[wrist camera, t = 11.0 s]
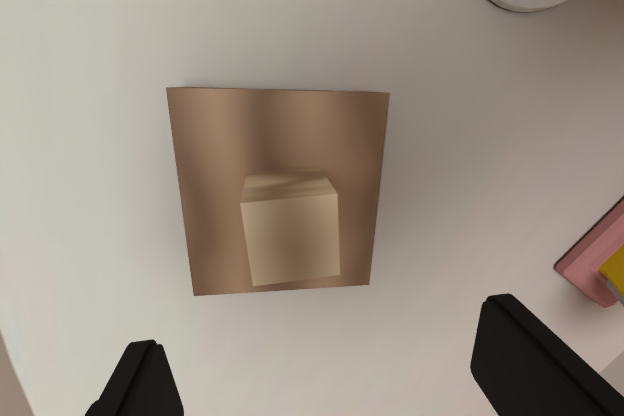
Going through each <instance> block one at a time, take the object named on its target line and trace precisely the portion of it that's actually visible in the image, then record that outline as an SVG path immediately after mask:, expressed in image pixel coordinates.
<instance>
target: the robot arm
mask: <svg viewBox="0 0 624 416" xmlns="http://www.w3.org/2000/svg"><path fill="white" fill-rule="evenodd" d="M491 1H492V2H494V3H495V4H497V5H498V6H500V7H502V8H505V9H508V10H511V11H515V12H533V11H539V10H544V9H547V8H551V7H554V6H557V5H560V4H562V3H564V2H566V1H568V0H491ZM470 368H471V372H472V375H473V377H474V379H475V380H476V382H477V383H478V385H479V386H480V388H481V389H482V391H483V393H484V394H485V396H486V397H487V399H488V400H489V402H490V403H491V405H492V406H493V408H494V409H495V411H496V412H497V414H498V415H499V416H624V397H623V396H622V395H621V394H620V393H619V392H617V391H616V390H615V389H614V388H613V387H612V386H611V385H610V384H609V383H608V382H606V380H604V379H603V378H602V377H601V376H600V375H599V374H598V373H597V372H596V371H595V370H594V369H592V368H591V367H590V366H589V365H588V364H587V363H586V362H585V361H584V360H583V359H582V358H581V357H579V356H578V355H577V354H576V353H575V352H574V351H573V350H572V349H571V348H570V347H569V346H567V345H566V344H565V343H564V342H563V341H562V340H561V339H560V338H559V337H558V336H557V335H556V334H554V333H553V332H552V331H551V330H550V329H549V328H548V327H547V326H546V325H545V324H544V323H542V322H541V321H540V320H539V319H538V318H537V317H536V316H535V315H534V314H533V313H532V312H531V311H529V310H528V309H527V308H526V307H525V306H524V305H523V304H522V303H521V302H520V301H519V300H517V299H516V298H515V297H514V296H513V295H511V294H500V295H492V296H488V297H487V299H486V301H485V302H483V304H482V307H481V312H480V318H479V323H478V328H477V333H476V338H475V344H474V349H473V354H472V359H471V365H470ZM85 416H184V409H183V405H182V402H181V399H180V396H179V393H178V390H177V387H176V384H175V381H174V378H173V375H172V372H171V369H170V366H169V363H168V360H167V357H166V354H165V351H164V348H163V346H162V345H161V344H157V343H156V341H155V340H145V341H138V342H131V343H130V344H129V345H128V346H127V348H126V349H125V351H124V353H123V355H122V357H121V359H120V361H119V363H118V364H117V366H116V368H115V370H114V372H113V374H112V376H111V378H110V379H109V381H108V383H107V385H106V387H105V389H104V391H103V392H102V394H101V396H100V398H99V400H97V401H95V402H94V403H93V404H92V405H91V406H90V408H89V409H88V411H87V412H86V414H85Z"/></svg>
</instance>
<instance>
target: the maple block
mask: <svg viewBox="0 0 624 416" xmlns="http://www.w3.org/2000/svg"><path fill="white" fill-rule="evenodd" d="M240 205H241V212H242V218H243V225H244V232H245V238H246V245H247V251H248V258H249V264H250V271H251V277H252V284H253V286H260V285H267V284H275V283H283V282H290V281H298V280H305V279H313V278H321V277H328V276H336V275H340V259H339V225H338V193H337V192H336V190H335V189H334V187H333V186H332V184H331V183H330V182H329V180H328V179H327V177H326V176H325V174H324V173H323V171H322V170H321V168H320V167H319V166H315V167H304V168H293V169H282V170H272V171H261V172H250V173H246V178H245V182H244V187H243V192H242V197H241V202H240Z"/></svg>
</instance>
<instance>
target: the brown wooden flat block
mask: <svg viewBox="0 0 624 416" xmlns="http://www.w3.org/2000/svg"><path fill="white" fill-rule="evenodd" d="M166 91H167V99H168V106H169V114H170V121H171V129H172V136H173V144H174V151H175V159H176V166H177V174H178V181H179V188H180V196H181V203H182V211H183V218H184V226H185V233H186V241H187V248H188V256H189V263H190V271H191V278H192V286H193V293H194V296H202V295H217V294H233V293H248V292H264V291H280V290H295V289H311V288H326V287H342V286H357V285H369V281H370V272H371V262H372V253H373V244H374V235H375V225H376V216H377V207H378V197H379V188H380V179H381V169H382V160H383V151H384V141H385V132H386V123H387V113H388V104H389V95H390V93H382V92H365V91H325V90H284V89H243V88H202V87H171V88H166ZM315 166H319V167H320V168H321V170H322V171H323V173H324V174H325V176H326V177H327V179H328V180H329V182H330V183H331V184H332V186H333V187H334V189H335V190H336V192H337V193H338V225H339V259H340V275H336V276H328V277H321V278H313V279H305V280H298V281H290V282H283V283H275V284H267V285H260V286H253V284H252V277H251V271H250V264H249V258H248V251H247V245H246V238H245V232H244V225H243V218H242V212H241V205H240V202H241V197H242V192H243V187H244V182H245V178H246V173H250V172H261V171H272V170H282V169H293V168H304V167H315Z"/></svg>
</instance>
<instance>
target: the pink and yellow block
mask: <svg viewBox="0 0 624 416" xmlns="http://www.w3.org/2000/svg"><path fill="white" fill-rule="evenodd" d="M556 271H557V272H559V273H560V274H561V275H562V276H564V277H565V278H566V279H567V280H569V281H570V282H571V283H572V284H574V285H575V286H576V287H577V288H579V289H580V290H581V291H582V292H583V293H585V294H586V295H587V296H588V297H590V298H591V299H592V300H593V301H595V302H596V303H597V304H599V305H601V306H602V307H604V308H605V307H609V306H612V305H614V304H615V303H616V302H617V301H618V300H619V301H620V302H621V304H622V305H623V306H624V199H622V200H621V201H620V202H619V203H618V204H617V205H616V206H615V207H614V208H613V209H612V210H611V211H610V212H609V213H608V214H607V215H606V216H605V217H604V218H603V219H602V220H601V221H600V222H599V223H598V224H597V225H596V226H595V227H594V228H593V229H592V230H591V231H590V232H589V233H588V234H587V235H586V236H585V237H584V238H583V239H582V240H581V241H580V242H579V243H578V244H577V245H576V246H575V247H574V248H573V249H572V250H571V251H570V252H569V253H568V254H567V255H566V256H565V257H564V258H563V259H562V260H560V261H559V262H558V263H557V264H556Z"/></svg>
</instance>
